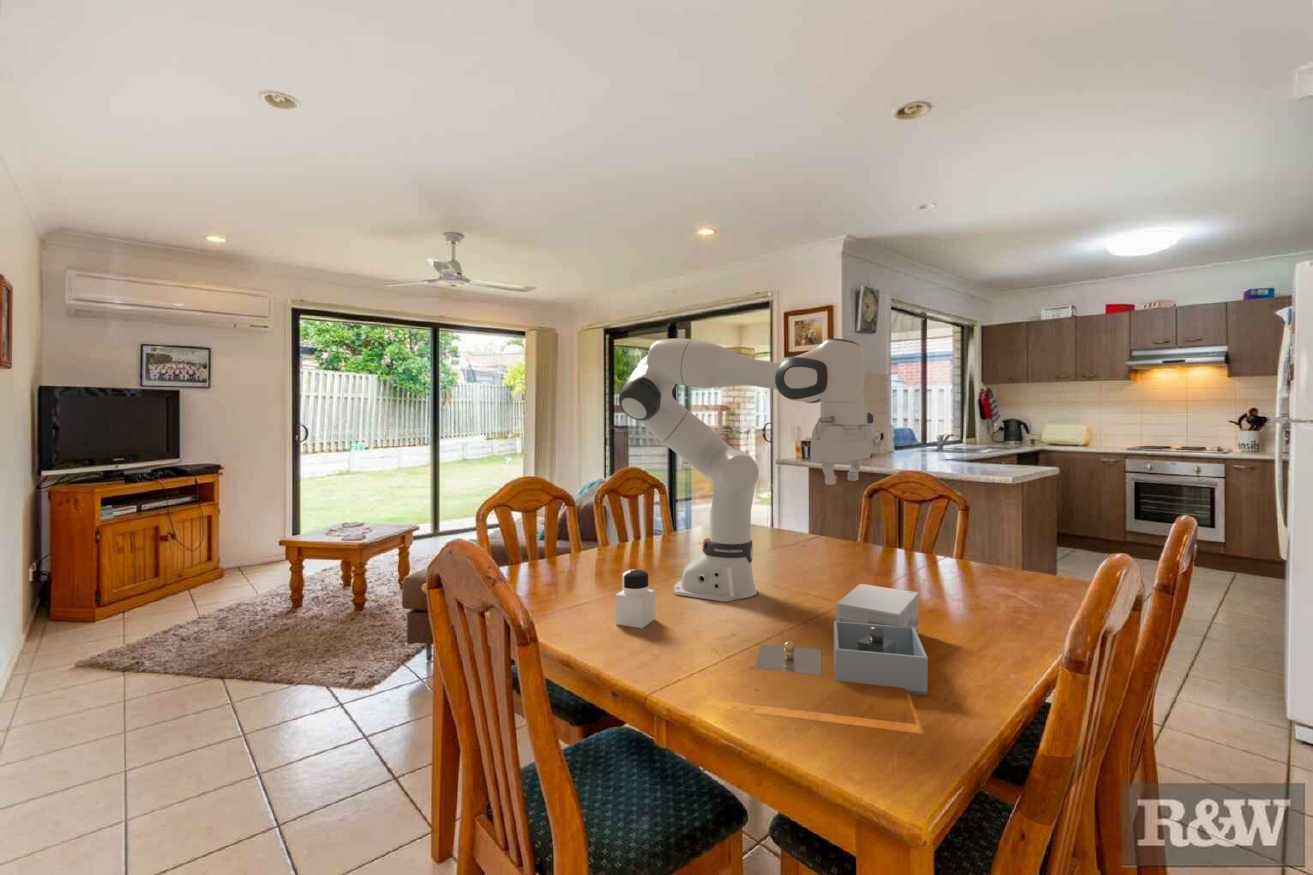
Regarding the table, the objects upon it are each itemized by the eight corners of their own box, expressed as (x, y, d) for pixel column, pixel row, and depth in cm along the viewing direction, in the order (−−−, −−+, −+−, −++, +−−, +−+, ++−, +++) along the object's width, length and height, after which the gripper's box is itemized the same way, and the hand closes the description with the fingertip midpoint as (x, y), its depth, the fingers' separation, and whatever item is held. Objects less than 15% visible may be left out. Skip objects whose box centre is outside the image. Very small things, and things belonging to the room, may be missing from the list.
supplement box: (859, 622, 141) (859, 582, 140) (919, 634, 133) (919, 592, 133) (834, 645, 127) (834, 601, 127) (899, 660, 119) (900, 613, 119)
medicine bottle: (655, 619, 143) (655, 569, 143) (642, 629, 137) (642, 577, 136) (629, 615, 146) (628, 566, 146) (615, 624, 140) (614, 573, 139)
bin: (835, 685, 108) (835, 649, 108) (833, 653, 122) (833, 620, 122) (927, 695, 104) (927, 658, 104) (914, 660, 118) (914, 627, 118)
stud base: (755, 673, 113) (755, 650, 113) (761, 649, 125) (761, 628, 125) (821, 680, 110) (821, 656, 110) (821, 654, 122) (821, 633, 121)
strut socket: (883, 677, 110) (884, 634, 109) (857, 669, 113) (857, 627, 113) (894, 669, 113) (895, 627, 113) (869, 661, 117) (869, 620, 116)
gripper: (830, 417, 117) (830, 488, 117) (878, 416, 131) (878, 479, 132) (802, 417, 121) (802, 485, 122) (851, 416, 135) (851, 477, 136)
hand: (842, 482), depth 127 cm, fingers open, 8 cm apart
